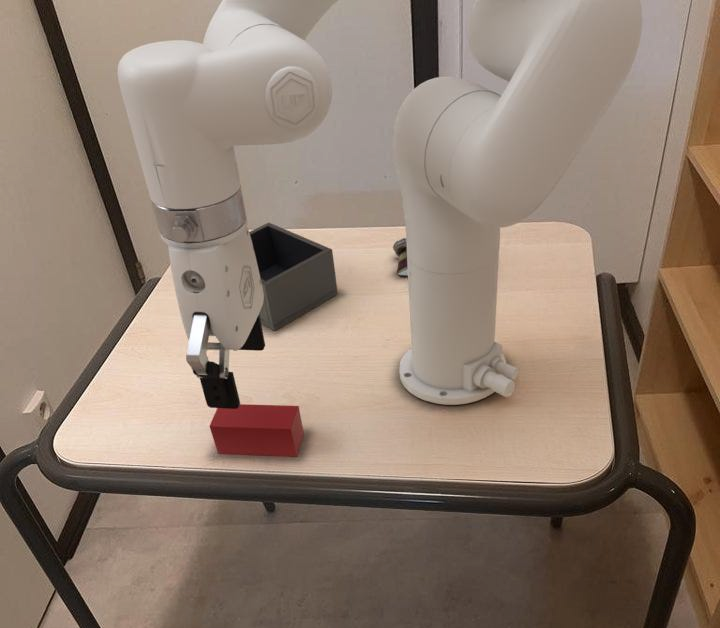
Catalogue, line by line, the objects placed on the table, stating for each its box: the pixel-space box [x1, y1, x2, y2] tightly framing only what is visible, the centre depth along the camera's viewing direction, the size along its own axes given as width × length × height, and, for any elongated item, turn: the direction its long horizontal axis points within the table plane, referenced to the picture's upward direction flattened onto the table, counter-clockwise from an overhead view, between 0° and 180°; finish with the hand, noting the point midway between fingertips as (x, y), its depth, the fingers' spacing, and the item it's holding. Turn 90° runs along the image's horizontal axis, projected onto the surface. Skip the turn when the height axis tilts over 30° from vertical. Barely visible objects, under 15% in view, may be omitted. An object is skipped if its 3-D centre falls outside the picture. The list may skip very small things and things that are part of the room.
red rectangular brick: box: [209, 403, 305, 458], centre depth 78 cm, size 9×4×4 cm, turn 81°
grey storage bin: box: [249, 222, 339, 332], centre depth 99 cm, size 14×12×7 cm
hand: (238, 376), depth 73 cm, fingers open, 9 cm apart
